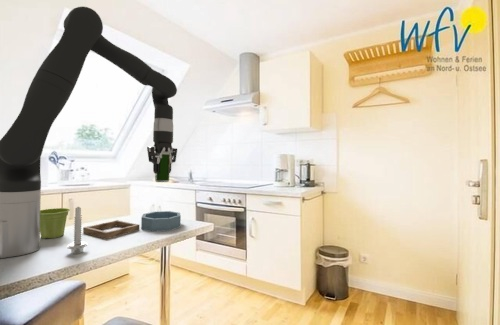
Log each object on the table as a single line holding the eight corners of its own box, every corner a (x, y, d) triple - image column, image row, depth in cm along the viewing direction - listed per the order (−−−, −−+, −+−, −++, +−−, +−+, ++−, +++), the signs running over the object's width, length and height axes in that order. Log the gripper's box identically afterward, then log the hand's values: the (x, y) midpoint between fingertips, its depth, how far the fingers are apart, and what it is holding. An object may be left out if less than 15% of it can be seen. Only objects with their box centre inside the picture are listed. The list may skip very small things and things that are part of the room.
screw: (90, 249, 75) (80, 255, 70) (73, 249, 75) (62, 255, 70) (91, 205, 75) (81, 208, 70) (74, 204, 75) (63, 208, 70)
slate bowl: (160, 233, 93) (160, 220, 93) (133, 227, 100) (134, 215, 100) (187, 224, 106) (187, 213, 106) (162, 220, 113) (162, 210, 113)
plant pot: (41, 242, 80) (41, 214, 80) (29, 237, 85) (29, 211, 85) (74, 235, 88) (75, 210, 88) (61, 230, 93) (62, 207, 93)
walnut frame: (106, 239, 85) (106, 233, 85) (83, 232, 91) (83, 227, 91) (139, 230, 96) (139, 224, 96) (117, 225, 102) (117, 220, 102)
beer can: (158, 182, 99) (159, 151, 99) (152, 181, 103) (153, 151, 103) (171, 181, 103) (172, 152, 102) (165, 180, 106) (166, 152, 106)
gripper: (156, 128, 94) (155, 174, 95) (183, 132, 107) (182, 173, 107) (141, 129, 98) (140, 173, 98) (169, 133, 111) (168, 172, 111)
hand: (162, 173), depth 103 cm, fingers closed on beer can, 5 cm apart
